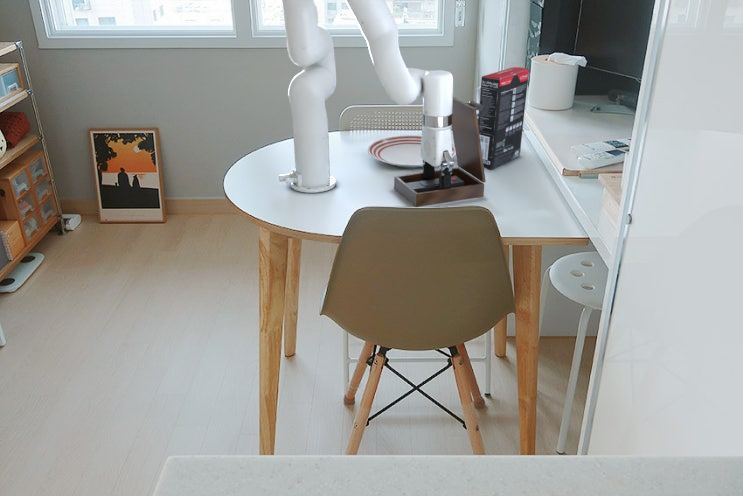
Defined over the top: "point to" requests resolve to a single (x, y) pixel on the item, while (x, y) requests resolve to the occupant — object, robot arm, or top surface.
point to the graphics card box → (502, 115)
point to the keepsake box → (468, 191)
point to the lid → (467, 137)
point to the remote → (433, 184)
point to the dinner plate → (400, 151)
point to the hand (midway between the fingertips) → (436, 183)
